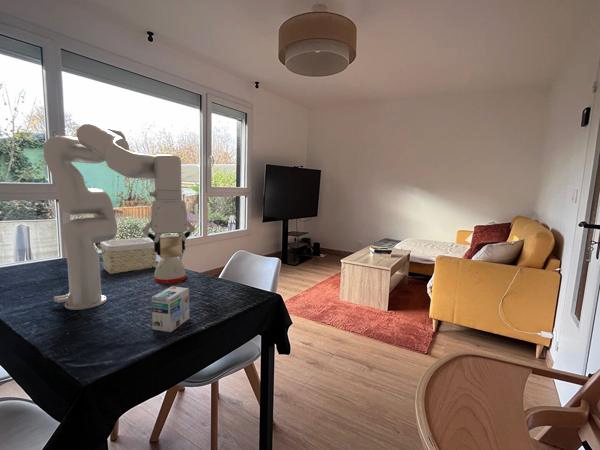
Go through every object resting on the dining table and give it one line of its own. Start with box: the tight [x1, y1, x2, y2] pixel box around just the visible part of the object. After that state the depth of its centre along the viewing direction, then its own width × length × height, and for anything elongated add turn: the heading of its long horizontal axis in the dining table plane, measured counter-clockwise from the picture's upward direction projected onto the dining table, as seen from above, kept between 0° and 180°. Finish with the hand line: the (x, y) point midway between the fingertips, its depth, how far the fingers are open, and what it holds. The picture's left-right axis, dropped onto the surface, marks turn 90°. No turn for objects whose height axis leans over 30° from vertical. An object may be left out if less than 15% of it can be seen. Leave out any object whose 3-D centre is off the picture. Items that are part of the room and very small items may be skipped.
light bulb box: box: [151, 285, 190, 333], centre depth 97 cm, size 11×7×11 cm, turn 168°
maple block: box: [158, 234, 183, 259], centre depth 94 cm, size 6×6×6 cm
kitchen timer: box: [153, 257, 187, 284], centre depth 143 cm, size 14×14×15 cm
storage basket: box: [99, 237, 157, 275], centre depth 157 cm, size 24×16×15 cm
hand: (170, 252), depth 95 cm, fingers closed on maple block, 6 cm apart
